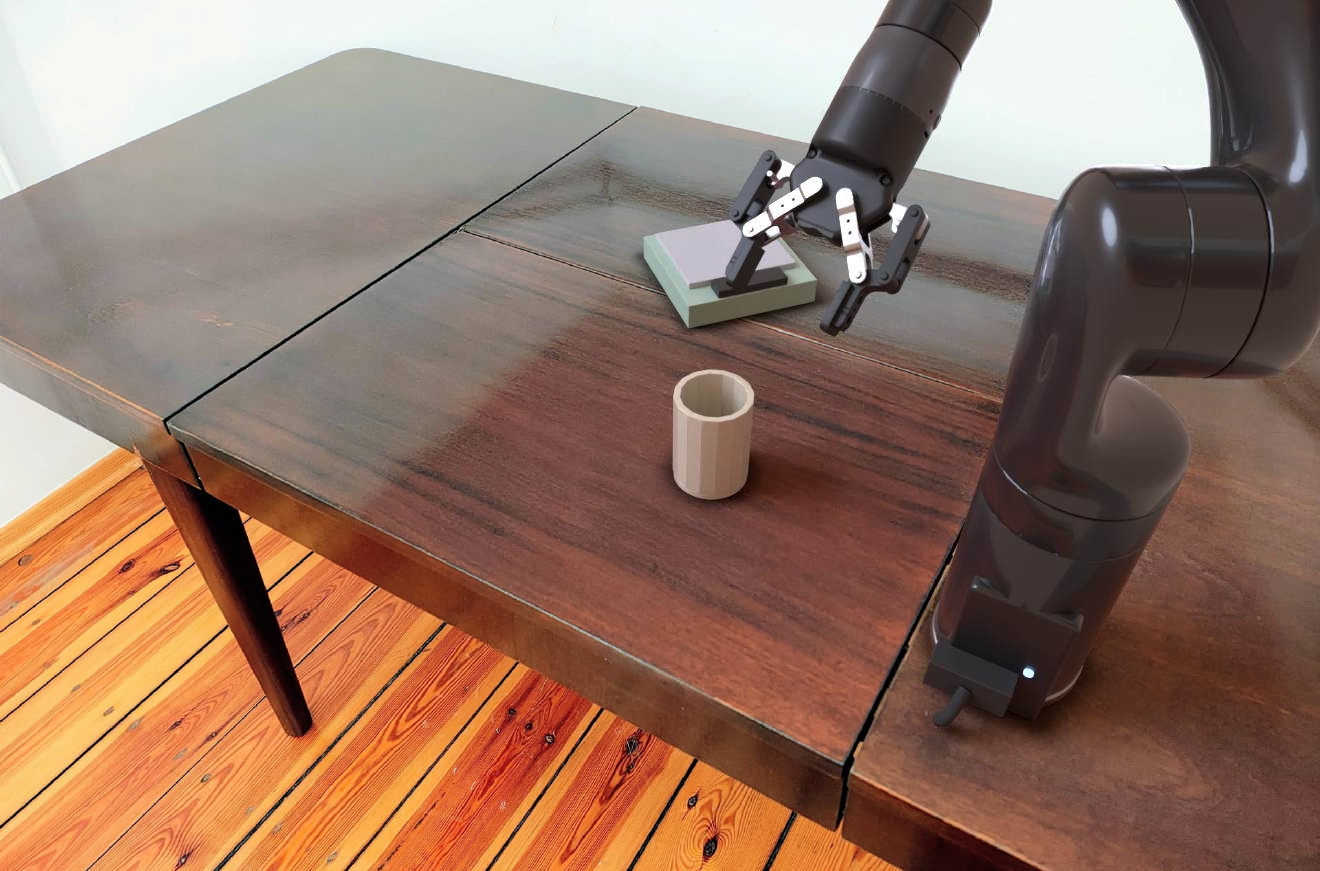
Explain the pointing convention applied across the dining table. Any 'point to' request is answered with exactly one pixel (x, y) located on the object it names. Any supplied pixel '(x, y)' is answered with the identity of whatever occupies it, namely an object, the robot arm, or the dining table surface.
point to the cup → (712, 433)
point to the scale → (699, 281)
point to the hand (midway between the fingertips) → (779, 310)
